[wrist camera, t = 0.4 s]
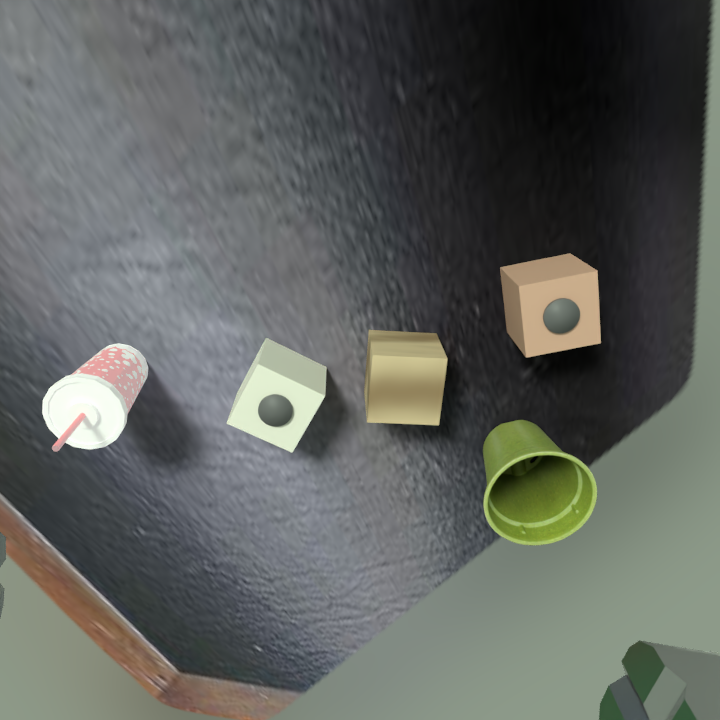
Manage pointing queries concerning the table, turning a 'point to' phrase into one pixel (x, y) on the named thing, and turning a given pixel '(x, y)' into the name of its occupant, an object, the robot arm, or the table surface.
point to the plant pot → (534, 486)
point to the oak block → (404, 377)
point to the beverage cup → (95, 398)
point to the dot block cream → (279, 396)
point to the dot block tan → (551, 304)
